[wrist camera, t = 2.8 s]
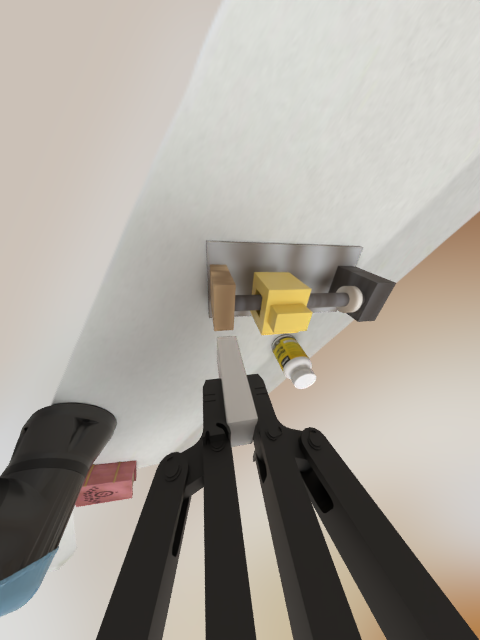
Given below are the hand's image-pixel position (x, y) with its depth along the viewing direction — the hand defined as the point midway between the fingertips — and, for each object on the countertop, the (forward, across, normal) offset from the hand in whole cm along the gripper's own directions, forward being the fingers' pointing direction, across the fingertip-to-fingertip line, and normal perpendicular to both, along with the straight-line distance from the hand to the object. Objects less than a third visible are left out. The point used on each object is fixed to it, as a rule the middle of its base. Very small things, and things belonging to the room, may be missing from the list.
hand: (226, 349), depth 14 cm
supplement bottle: (+16, +14, -14) cm, 26 cm away
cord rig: (+16, +12, 0) cm, 19 cm away
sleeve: (+12, +8, 0) cm, 14 cm away
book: (+15, -33, -61) cm, 71 cm away
